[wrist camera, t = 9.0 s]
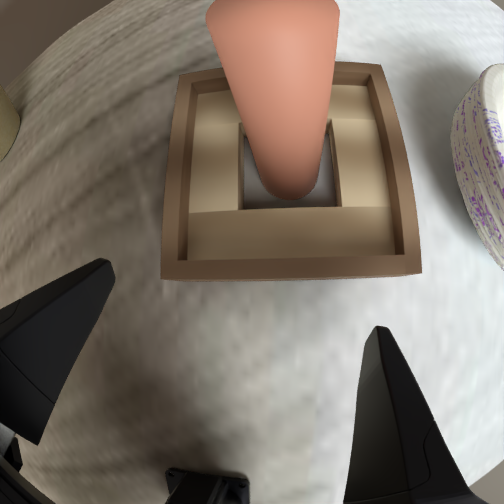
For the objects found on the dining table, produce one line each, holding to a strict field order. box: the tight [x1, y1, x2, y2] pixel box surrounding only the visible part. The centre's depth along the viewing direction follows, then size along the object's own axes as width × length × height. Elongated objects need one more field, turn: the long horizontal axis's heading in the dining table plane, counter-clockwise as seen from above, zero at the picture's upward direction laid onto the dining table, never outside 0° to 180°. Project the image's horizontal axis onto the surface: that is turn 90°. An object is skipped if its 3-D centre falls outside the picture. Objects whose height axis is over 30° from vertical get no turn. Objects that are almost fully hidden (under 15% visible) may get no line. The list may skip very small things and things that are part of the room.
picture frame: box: [161, 61, 422, 281], centre depth 17 cm, size 14×14×4 cm
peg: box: [206, 0, 340, 200], centre depth 12 cm, size 4×4×13 cm
